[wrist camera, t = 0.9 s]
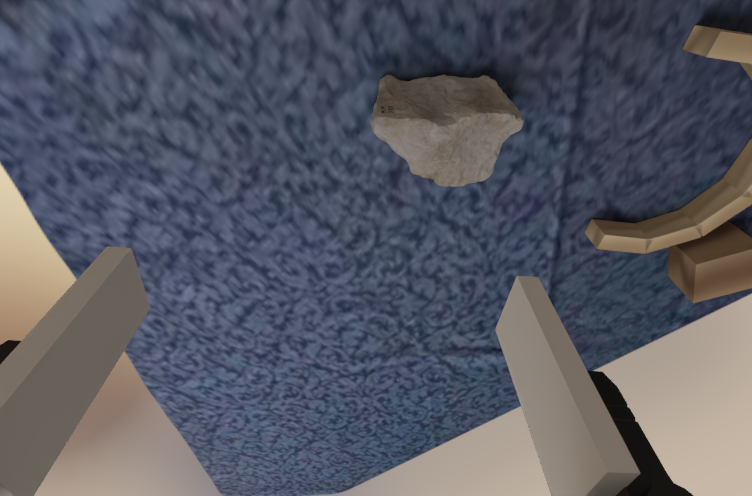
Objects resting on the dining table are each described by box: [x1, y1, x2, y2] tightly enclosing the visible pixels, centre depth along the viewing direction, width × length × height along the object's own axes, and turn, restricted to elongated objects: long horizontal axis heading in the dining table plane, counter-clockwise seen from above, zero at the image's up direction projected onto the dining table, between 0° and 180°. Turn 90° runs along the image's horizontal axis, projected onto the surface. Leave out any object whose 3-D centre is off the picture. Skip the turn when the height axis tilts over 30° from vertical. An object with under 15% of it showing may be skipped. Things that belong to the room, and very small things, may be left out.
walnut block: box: [668, 221, 752, 303], centre depth 37 cm, size 5×5×4 cm
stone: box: [370, 75, 524, 187], centre depth 28 cm, size 8×10×6 cm
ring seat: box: [585, 25, 752, 254], centre depth 31 cm, size 17×11×2 cm, turn 173°
